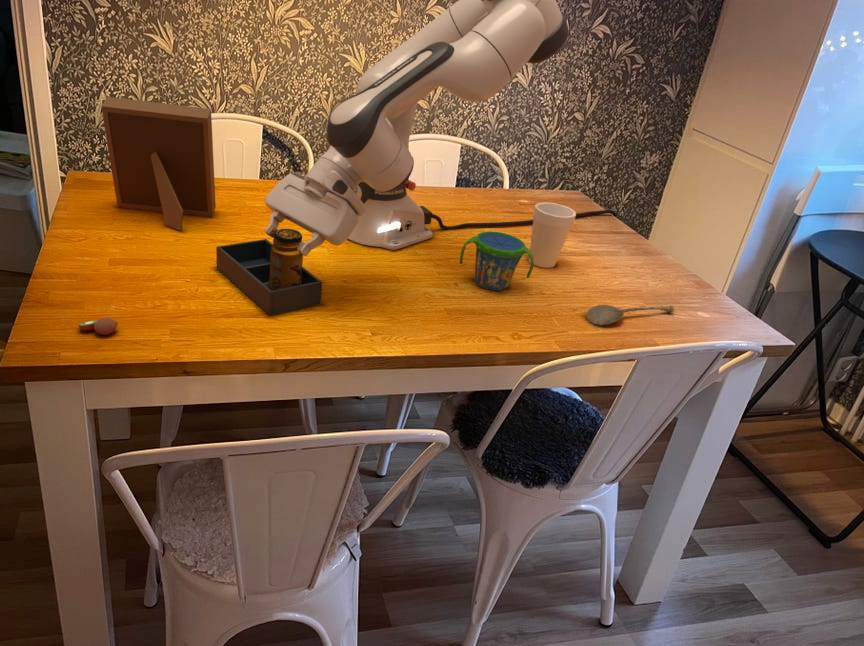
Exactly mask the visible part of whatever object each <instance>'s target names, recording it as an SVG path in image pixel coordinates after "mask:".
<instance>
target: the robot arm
mask: <svg viewBox="0 0 864 646" xmlns="http://www.w3.org/2000/svg"><path fill="white" fill-rule="evenodd" d="M569 34H570V30H569V24H568V22H567V19H566V16H565V15H564V14H563V13H562V11H561V9H560V7H559V4H558V2H557V0H457V1H455V2H454V3H453V4H452V5H450V6H449V7H447V8H446V9H445V10H444V11H442V12H441V13H440V14H439V15H437V16H436V17H435V18H434V19H432V21H430V22H429V23H427V25H425V26H424V27H422V28H421V29H420V30H419V31H417V32H416V33H415V34H413V35H412V36H411V37H409V38H408V39H406V40H405V41H404V42H403V43H401V44H400V45H398V46H397V47H396V48H394V49H393V50H392V51H390V53H388V54H387V55H386V56H384V57H383V58H381V59H380V60H379V61H378V62H376V63H375V64H373V65H372V66H371V67H369V68H368V69H367V70H366V71H365V72H364V73H363V74H362V75H361V77H360V79H359V80H358V82H357V85H356V89H355V94H354V95H351V96H349V97H348V98H346V99H344V100H342V101H341V102H340V103H338V104H337V105H336V106H335V107H333V109H332V111H330V113H329V116H328V120H327V123H326V124H327V126H326V137H327V139H326V140H327V142H328V144H329V145H330V146H329V148H328V149H327V151H325V152H324V153H323V154H321V155H320V156H319V157H318V159H317V160H316V162H315V163H314V164H313V166H312V167H311V168H310V169H309V170H308V172H307V174H304V173H302V172H300V171H295V172H291V173H289V174H287V175H286V176H285V177H283V178H282V179H281V180H280V181H279V182H277V184H276V185H275V186H274V187H273V188H272V189H271V191H269V193H268V194H267V195H266V197H265V199H264V200H265V201H264V204H265V206H266V207H267V208H268V209H269V210H270V211H271V214H270V218H269V224H268V225H267V227H266V228H265V230H264V233H265V234H266V235H267V236H269V237H270V238H273V239H274V233H275V231H277V230H278V229H279V224H280V223H283V222H284V221H285V220H287V221H288V222H291V224H294V225H296V226H298V227H300V228H301V229H304V230H306V231H307V232H309V233H311V238H310V239H309V240H307V241H306V242H303V241H302V242H301V243H300V246H298V248H297V251H298V252H299V253H300V254H302V255H303V257H307V256H308V255H309V254H310V253H311V251H312V250H314V249H317V248H318V247H320V246H322V245H323V243H325V241H326V242H328V243H330V244H332V245H333V246H336V247H338V246H340V245H343V244H344V243H345V242H346V241H347V240H350V241H352V242H354V243H356V244H360V245H363V246H370V247H377V248H384V249H386V250H393V251H394V250H399V249H402V248H406V247H408V246H412V245H414V244H416V243H417V244H418V243H420V242H423V241H427V240H429V239H432V238H433V231H432V230H431V229H430V228H429V227H428V226H427V225H431V224H432V220H433V219H434V220H436V221H437V223H438V227H440V229H442V230H444V231H453V230H459V229H464V228H485V227H487V228H488V227H509V226H511V227H512V226H522V225H524V226H525V225H533V219H527V220H516V221H498V222H497V221H496V222H465V223H461V224H456V225H450V226H448V225H444V223H443V220H442V218H441V217H440V216H439V215H437V214H434V213H433V212H432V211H431V210H429V209H428V208H426V206H424V205H419V204H418V203H417V202H416V201H415V200H414V199H412V198H411V196H409V195H408V193H407V189H408V190H409V191H411V192H413V191H415V189H417V183H416V182H414V181H412V180H410V179H409V178H410V177H411V175H412V173H413V169H414V164H415V160H414V157H413V155H412V153H411V152H410V150H409V149H408V146H409V140H410V137H411V133H412V129H413V124H414V120H415V115H416V110H417V105H418V102H420V101H421V100H422V99H424V98H425V97H426V96H428V95H429V94H430V93H432V92H433V91H435V90H436V89H437V88H438V87H440V88H442V89H443V90H444V91H446V92H448V93H449V94H451V95H453V96H455V97H456V98H458V99H461V100H463V101H466V102H470V103H471V102H472V103H479V102H485V101H487V100H489V99H491V98H492V97H494V96H495V95H497V94H498V93H499V92H500V91H501V90H502V89H503V88H504V87H505V86H506V85H507V84H509V82H511V80H513V79H514V77H515V76H516V75H517V74H519V72H520V71H521V70H522V69H523V68H524V67H525V65H526V64H541V63H543V62H545V61H547V60H549V59H551V58H552V57H553V56H555V54H557V53H558V52H559V51H560V50H562V48H563V47H564V45H565V44H566V42H567V40H568V38H569ZM604 214H611V215H612V216H613V217H618V214H617V212H616V211H615V210H613V209H603V210H593V211H592V210H591V211H584V212H579V213H576V217H575V218H582V217H588V216H597V215H598V216H599V215H604Z"/></svg>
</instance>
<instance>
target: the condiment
mask: <svg viewBox="0 0 864 646" xmlns="http://www.w3.org/2000/svg"><path fill="white" fill-rule="evenodd" d="M301 242H303V235H302V233H301V232H300V231H298V230H296V229H294V228H293V229H291V228H278V229H277V231H275V233H274V238H273V239H272V246H271V257H270V278H269V283H266V284H264V285H265V286H267V287H268V288H269V289H270V290H271V291H273V290H278V289H283V288H288V287H293V286H298V285H301V276H302V267H303V262H304V261H303V260H304V255H302V254H300V253H299V252H298V251H297V248H298V246H300V243H301Z"/></svg>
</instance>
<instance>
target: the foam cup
mask: <svg viewBox="0 0 864 646" xmlns="http://www.w3.org/2000/svg"><path fill="white" fill-rule="evenodd" d="M576 214H577V212H576V211H575V210H574V209H572V208H571V207H568V206H567V205H563V204H559V203H555V202H547V201H546V202H537V203H535V205H534V209H533V212H532V218H533V219H532V220H533V224H532V228H531V237H530V245H529V250H530V251H531V253H532V255H533V266H537V267H540V268H545V269H547V268H548V269H549V268H553V267H555V266H556V264H557V261H558V260H559V257H560V255H561V252H562V250H563V247H564V245H565V243H566V240H567V238H568V236H569V234H570V231H571V229H572V227H573V226H574V225H575V219H576V218H577V217H576ZM528 261H529V263H531V260H530V257H529V256H528Z"/></svg>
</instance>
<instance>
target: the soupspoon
mask: <svg viewBox="0 0 864 646" xmlns="http://www.w3.org/2000/svg"><path fill="white" fill-rule="evenodd" d="M648 310H649V311H650V310H660V311H665V312H667V313H668V314H673V313H674V312H675V307H674V306H673V305H667V306H666V305H665V306H663V305H661V306H643V307H631V308H630V307H629V308H624V309H623V308H622V309H620V308H617V307H615V306H613V305H610V304H609V305H608V304H597V305H594V306H592V307H591V308H589V309H588V310H587V312H586V314H585V317H586V320H587V321H588V322H589V323H592V324H593V325H596V326H607V325H610V324H613V323H616V322H618V321H620V320H621V319H622V318H623V317H624V313H625V314H626V313H629V312H636V311H648Z"/></svg>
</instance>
